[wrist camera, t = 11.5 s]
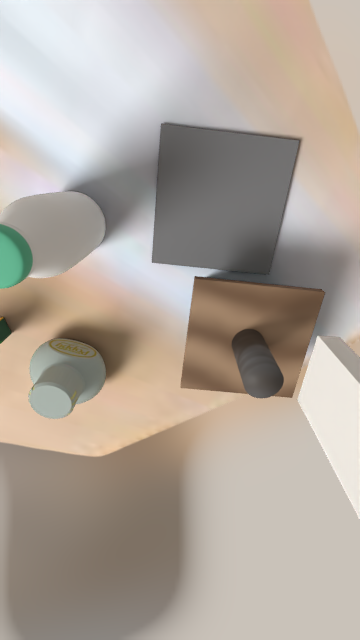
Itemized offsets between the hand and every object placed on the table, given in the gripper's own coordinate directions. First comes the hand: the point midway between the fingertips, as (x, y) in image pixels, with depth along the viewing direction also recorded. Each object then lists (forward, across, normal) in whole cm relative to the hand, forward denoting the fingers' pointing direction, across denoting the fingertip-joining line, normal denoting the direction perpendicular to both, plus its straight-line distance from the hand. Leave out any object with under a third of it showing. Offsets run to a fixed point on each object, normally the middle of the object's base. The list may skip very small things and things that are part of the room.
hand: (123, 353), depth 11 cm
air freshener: (+32, -13, -22) cm, 41 cm away
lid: (+25, +11, -12) cm, 30 cm away
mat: (+32, +7, +3) cm, 33 cm away
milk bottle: (+33, -12, -1) cm, 35 cm away
